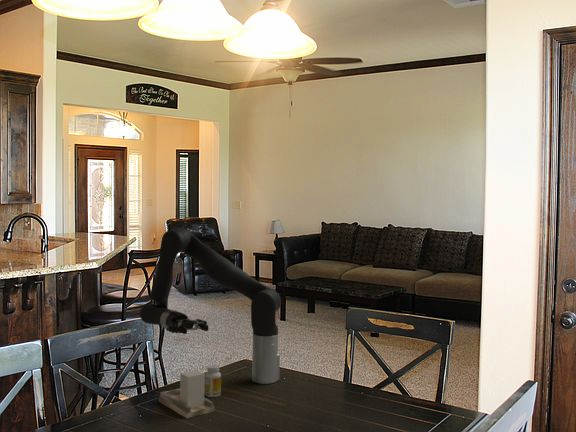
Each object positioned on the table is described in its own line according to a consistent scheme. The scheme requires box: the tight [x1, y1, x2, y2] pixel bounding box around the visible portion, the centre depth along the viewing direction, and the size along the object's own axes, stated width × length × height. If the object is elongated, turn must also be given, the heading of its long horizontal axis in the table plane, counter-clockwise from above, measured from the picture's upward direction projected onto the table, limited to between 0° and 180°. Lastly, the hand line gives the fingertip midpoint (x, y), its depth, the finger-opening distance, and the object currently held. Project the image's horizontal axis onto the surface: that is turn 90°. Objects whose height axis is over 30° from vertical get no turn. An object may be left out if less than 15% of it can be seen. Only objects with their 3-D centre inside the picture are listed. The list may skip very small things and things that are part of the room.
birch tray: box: [158, 388, 216, 419], centre depth 197 cm, size 10×18×3 cm, turn 39°
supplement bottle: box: [204, 364, 222, 398], centre depth 209 cm, size 5×5×10 cm
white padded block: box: [179, 370, 206, 408], centre depth 194 cm, size 6×5×10 cm
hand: (196, 329), depth 217 cm, fingers open, 8 cm apart
